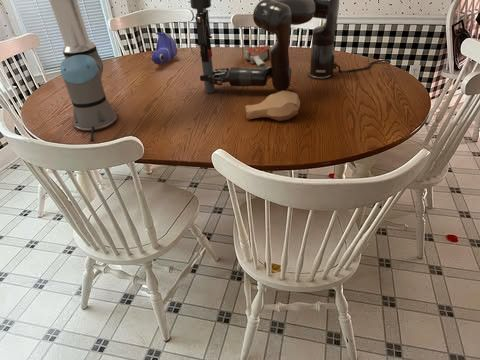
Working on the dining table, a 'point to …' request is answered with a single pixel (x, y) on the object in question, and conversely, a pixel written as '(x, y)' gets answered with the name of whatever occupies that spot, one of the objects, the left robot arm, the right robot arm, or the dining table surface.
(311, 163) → the dining table surface
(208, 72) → the dark grey piece
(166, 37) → the toy
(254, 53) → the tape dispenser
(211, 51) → the lid
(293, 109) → the squash
